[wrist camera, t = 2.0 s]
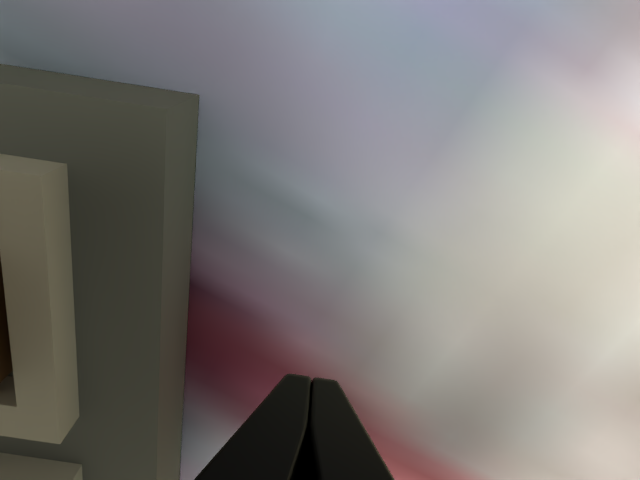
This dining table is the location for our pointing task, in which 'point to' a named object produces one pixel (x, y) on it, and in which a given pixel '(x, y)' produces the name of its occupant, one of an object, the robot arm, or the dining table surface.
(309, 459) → the robot arm
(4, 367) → the walnut knob
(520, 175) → the dining table surface
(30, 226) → the panel
